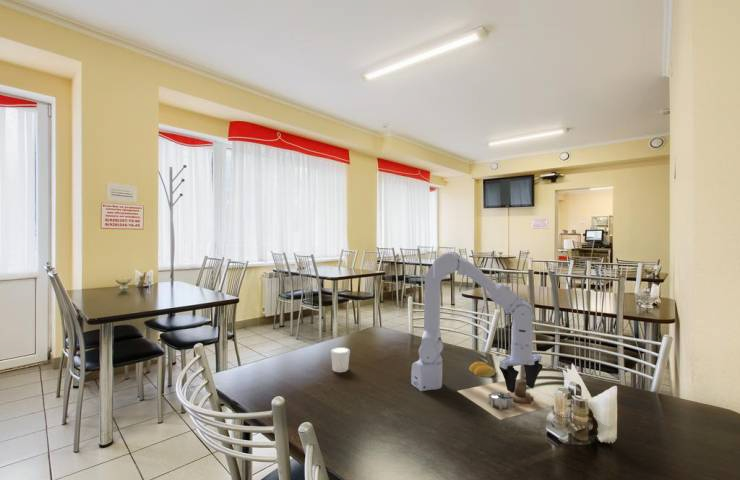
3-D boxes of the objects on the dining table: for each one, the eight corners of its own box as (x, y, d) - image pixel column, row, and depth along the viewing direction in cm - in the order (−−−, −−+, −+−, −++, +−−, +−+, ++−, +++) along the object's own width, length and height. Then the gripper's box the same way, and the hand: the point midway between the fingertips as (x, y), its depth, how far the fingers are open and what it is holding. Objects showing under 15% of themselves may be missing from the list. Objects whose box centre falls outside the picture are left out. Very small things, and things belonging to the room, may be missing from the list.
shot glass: (348, 373, 123) (349, 353, 123) (329, 372, 124) (329, 353, 123) (350, 365, 130) (350, 347, 130) (331, 365, 130) (332, 346, 130)
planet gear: (521, 406, 98) (521, 388, 98) (502, 396, 105) (502, 378, 105) (538, 402, 101) (539, 384, 101) (519, 392, 108) (519, 375, 108)
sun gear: (500, 412, 96) (500, 401, 96) (483, 401, 102) (483, 391, 102) (518, 408, 98) (518, 397, 98) (500, 397, 104) (501, 387, 104)
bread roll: (479, 381, 119) (480, 369, 119) (465, 371, 127) (466, 360, 127) (500, 378, 121) (501, 367, 121) (485, 369, 130) (486, 358, 130)
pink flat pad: (520, 408, 98) (520, 407, 98) (500, 396, 105) (500, 395, 105) (540, 403, 101) (540, 402, 101) (519, 392, 108) (519, 391, 108)
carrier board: (500, 423, 92) (500, 419, 92) (456, 394, 109) (456, 390, 109) (553, 408, 100) (553, 405, 100) (505, 383, 117) (505, 380, 117)
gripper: (513, 350, 96) (512, 399, 96) (551, 344, 102) (549, 390, 102) (494, 342, 103) (493, 388, 103) (531, 337, 108) (529, 380, 109)
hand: (520, 389), depth 103 cm, fingers open, 7 cm apart
